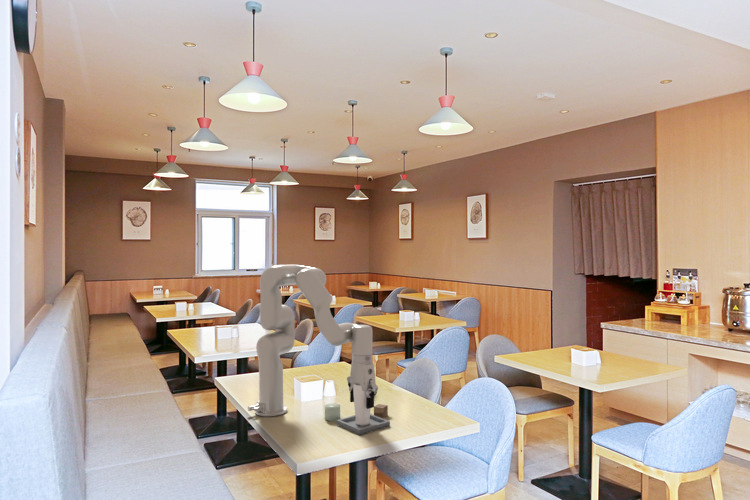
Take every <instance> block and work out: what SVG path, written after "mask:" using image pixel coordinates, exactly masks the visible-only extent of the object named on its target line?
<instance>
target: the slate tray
mask: <svg viewBox="0 0 750 500" xmlns="http://www.w3.org/2000/svg"><path fill="white" fill-rule="evenodd" d="M336 425H337V426H338V427H340V428H342V429H345V430H347V431H349V432H352V433H354V434H356V435H359V436H362V435H365V434H369V433H373V432H375V431H378V430H381V429H385V428H388V427H390V426H391V422H390V420H387V419H385V418H380V417H377V416H375V415H374V414H371V413H370V423H369V424H368V425H365V426H360V425H357V424H356V418H355V414H354V415H351V416H347V417H344V418H340V419H339V420H337V421H336Z"/></svg>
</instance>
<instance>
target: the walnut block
mask: <svg viewBox="0 0 750 500" xmlns="http://www.w3.org/2000/svg"><path fill="white" fill-rule="evenodd" d="M388 407H389V406H388V405H387V404H383V403H382V404H381V403H378V404H376V405H374V407H373V415H375V416H377V417H380V418H383V419H385V417H387V416H388V414H389V411H388V409H389V408H388Z"/></svg>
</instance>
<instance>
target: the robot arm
mask: <svg viewBox="0 0 750 500" xmlns="http://www.w3.org/2000/svg"><path fill="white" fill-rule="evenodd" d="M326 284H327V275H326V273H325V272H324V271H323V270H322V269H320V268H318V267H311V266H305V265H300V264H277V265H276V264H275V265H272V266H269V267H268V268H266V269H265V270H264V271H263V272H262V273H261V275H260V278H259V291H260V293H259V295H260V300H259V301H260V304H259V305H260V311H259V313H260V314H259V315H260V316H259V318H260V319H259V320H260V326H261V327H262V328H263V330H265V331H274V332H271V333H270V332H269V333H266V334H264V335H262V336H261V337H260V338H259V339H258V340H257V342H256V346H255V347H256V354H257V360H258V361H257V362H258V381H259V382H258V391H259V392H258V394H259V395H258V396H259V398H258V401H256V403H255V404H254V405H253V404H252V405H248V406H247V411H248V412H251V411H254V412H255V414H256V415H257V416H260V417H276V416H277V417H278V416H281V415H284V414H285V413H287V412H288V407H287V406H286V405H284V365H283V362H282V359H281V355H284V354H286V353H289V352H291V350H292V349H293V348H294V345H295V339H296V338H295V335H296V334H295V332H296V331H295V330H296V328H295V327H296V325H295V323H296V322H295V319H296V318H295V314H294V311H293V309H292V308H291V307H290V306H288V305H286V304H283V303H282V302H283V295H282V292H281V290H280V287H287V286H297V288H298V289H299V290H300V292H301V293H302V294H303V296H304V297H305V299H306V300H307V302H308V303H309V304H310V306H311V307H312V309H313V311H314V318H315V323H316V326H317V328H318V330H319V331H320V333H321V334H322V335H323V336H322V337H324V339H325V340H326V341H327V342H328V343H329V344H330V345H333V346H335V347H338V346H343V345H346V344H349V343H351V365H350V371H349V376H347V377H346V381H347V383H348V384H347V385H348V388H349V389H348V390H349V402H350V403H354V395H353V385H354V384H355V385H360V386H361V387H362V390H363V391H365V392H366V394H367V398H366V408H367V409H369V408H371V409H374V406H375V397H376V395H377V393H378V390H379V386H378V385H377V384H376V371H375V365H374V362H373V327H372V325H368V324H356V323H353V322H349V321H348V322H343V323H340V324H339V323H337V321H336V320H335V318H334V316H333V315H332V312H331V304H332V301H333V296H332V295H331V293H330V292H329V290H328V289H327V288H326ZM368 386H369V387H370V388H369V389H367V388H368ZM369 391H370V392H371V393H369Z"/></svg>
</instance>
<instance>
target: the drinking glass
mask: <svg viewBox="0 0 750 500" xmlns="http://www.w3.org/2000/svg"><path fill="white" fill-rule="evenodd" d="M369 388H370V387H369V386H368V388H367V389H369ZM369 393H371V392H370V391H369ZM353 395H354V402H353V404H354V406H353V407H354V415H355V418H356V424H357V425H360V426H365V425H368V424H369V423H370V414H371V409H372V408H369V409H367V408H366V398H367V394H366V392H365V391H363V390H362V387H361V386H360V385H355V384H354V385H353Z"/></svg>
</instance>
